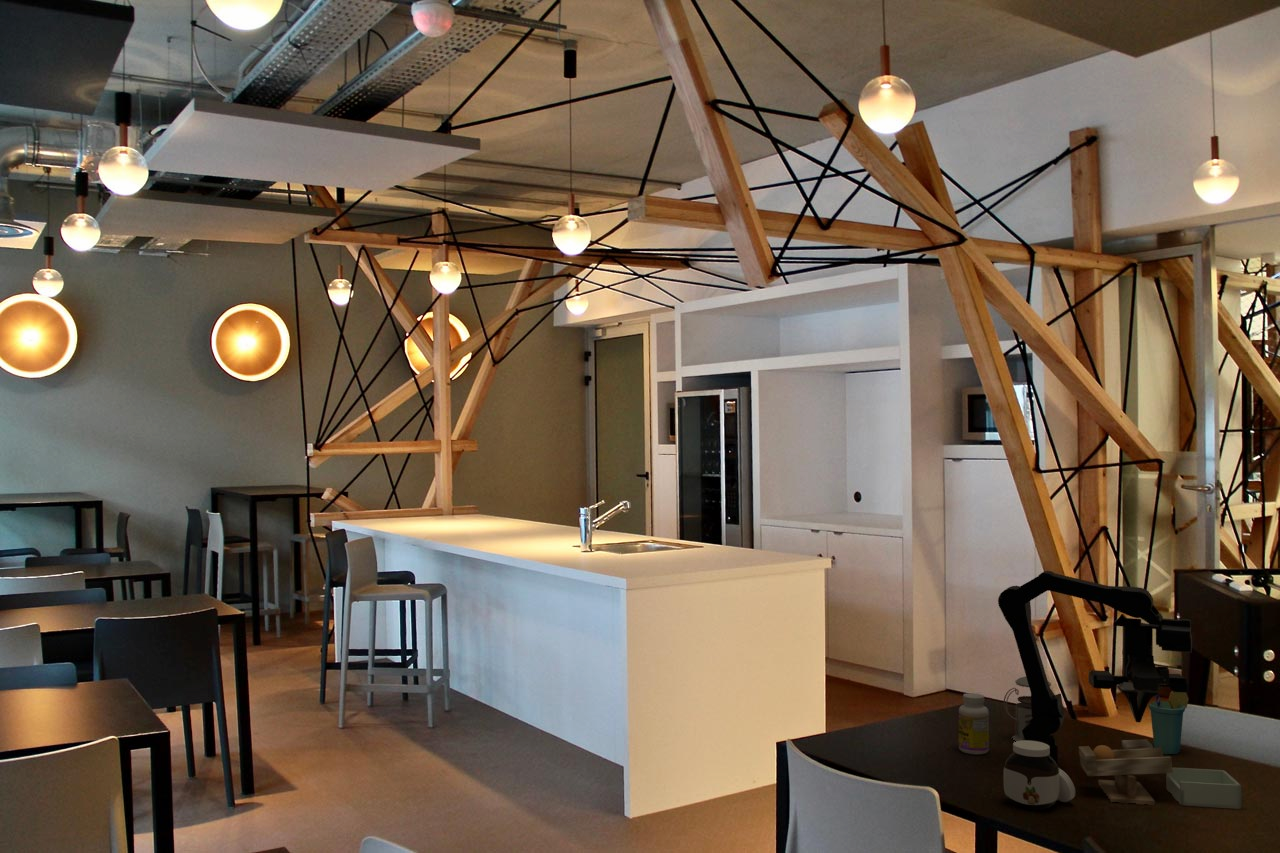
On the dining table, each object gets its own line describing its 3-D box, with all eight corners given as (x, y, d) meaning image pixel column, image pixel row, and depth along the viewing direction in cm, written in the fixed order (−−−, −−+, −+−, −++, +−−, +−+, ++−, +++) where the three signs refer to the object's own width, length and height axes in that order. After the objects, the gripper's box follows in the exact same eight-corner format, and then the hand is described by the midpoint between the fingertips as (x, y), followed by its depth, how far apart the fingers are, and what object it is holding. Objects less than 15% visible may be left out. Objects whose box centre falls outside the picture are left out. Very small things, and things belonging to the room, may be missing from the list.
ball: (1098, 770, 219) (1092, 751, 220) (1094, 764, 223) (1088, 745, 224) (1118, 765, 219) (1112, 745, 219) (1114, 759, 223) (1107, 740, 223)
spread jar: (998, 803, 214) (998, 744, 215) (1020, 789, 223) (1020, 732, 223) (1060, 817, 207) (1060, 756, 207) (1080, 802, 215) (1080, 743, 216)
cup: (1162, 761, 243) (1162, 693, 243) (1130, 752, 249) (1130, 687, 249) (1198, 751, 250) (1198, 686, 250) (1166, 743, 257) (1166, 679, 257)
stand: (1111, 802, 215) (1111, 777, 215) (1098, 783, 227) (1098, 759, 227) (1154, 805, 214) (1154, 779, 214) (1139, 785, 225) (1139, 761, 225)
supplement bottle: (954, 747, 253) (954, 692, 253) (981, 746, 254) (981, 691, 254) (965, 755, 246) (965, 699, 247) (993, 755, 247) (993, 698, 247)
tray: (1180, 805, 214) (1180, 782, 214) (1166, 788, 223) (1166, 767, 224) (1241, 809, 212) (1241, 785, 212) (1224, 792, 221) (1224, 770, 221)
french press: (1061, 746, 254) (1061, 639, 254) (1011, 746, 254) (1011, 639, 254) (1046, 734, 264) (1046, 631, 264) (998, 734, 264) (998, 631, 264)
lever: (1087, 776, 218) (1085, 756, 219) (1071, 752, 235) (1069, 733, 235) (1172, 772, 215) (1170, 752, 215) (1150, 748, 232) (1147, 729, 232)
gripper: (1099, 653, 224) (1099, 729, 224) (1197, 657, 221) (1197, 734, 221) (1088, 643, 235) (1088, 715, 235) (1180, 647, 232) (1180, 720, 231)
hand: (1137, 721), depth 230 cm, fingers closed
